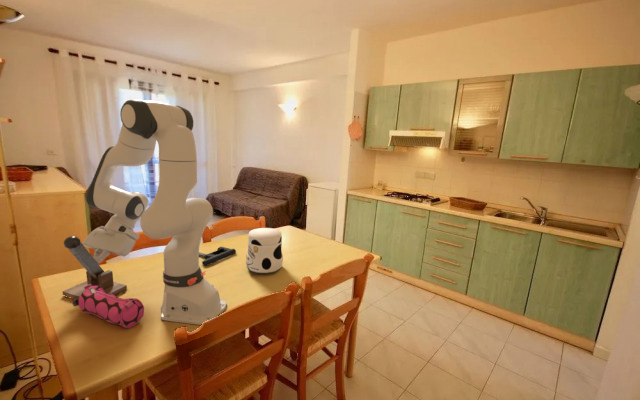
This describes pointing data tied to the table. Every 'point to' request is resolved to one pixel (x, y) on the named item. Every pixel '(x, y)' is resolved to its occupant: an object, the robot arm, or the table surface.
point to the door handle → (217, 255)
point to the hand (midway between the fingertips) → (95, 262)
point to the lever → (83, 256)
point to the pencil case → (110, 306)
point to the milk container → (264, 250)
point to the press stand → (104, 282)
